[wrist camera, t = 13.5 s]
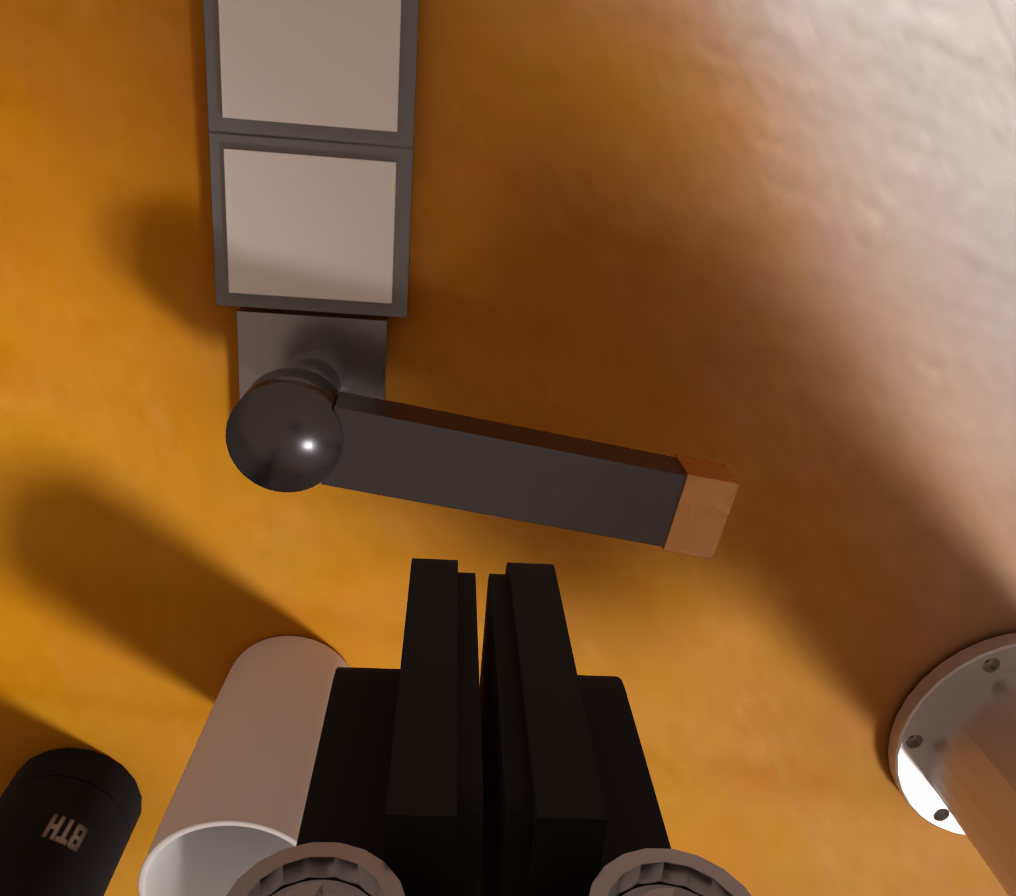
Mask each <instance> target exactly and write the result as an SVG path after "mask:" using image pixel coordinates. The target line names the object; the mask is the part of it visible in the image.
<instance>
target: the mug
mask: <svg viewBox="0 0 1016 896" xmlns="http://www.w3.org/2000/svg"><path fill="white" fill-rule="evenodd" d="M337 667H349V666H348V665H347V663H346V662H345V661H344V660H343V658H342V657H341V656H340V655H339V654H338V653H336V652H335V651H334V650H333V649H331V648H330V647H328V646H326V645H324V644H323V643H320V642H318V641H315V640H313V639H309V638H305V637H300V636H278V637H272V638H268V639H265V640H262V641H260V642H258V643H256V644H254V645H252V646H251V647H249V648H248V649H246V650H245V651H244V652H243V653H242V654H241V655H240V656H239V657H238V658H237V660H236V661H235V662H234V664H233V666H232V667H231V669H230V671H229V673H228V676H227V678H226V680H225V682H224V684H223V686H222V688H221V690H220V692H219V694H218V696H217V699H216V701H215V703H214V705H213V708H212V710H211V712H210V714H209V717H208V719H207V721H206V724H205V726H204V728H203V730H202V733H201V735H200V737H199V739H198V741H197V744H196V746H195V748H194V750H193V753H192V755H191V757H190V759H189V761H188V764H187V766H186V768H185V770H184V773H183V775H182V777H181V779H180V781H179V784H178V786H177V788H176V790H175V792H174V795H173V797H172V799H171V801H170V804H169V806H168V808H167V810H166V812H165V815H164V817H163V819H162V821H161V824H160V826H159V828H158V830H157V833H156V835H155V837H154V840H153V842H152V844H151V847H150V849H149V852H148V855H147V857H146V858H145V860H144V862H143V864H142V867H141V870H140V873H139V878H138V893H139V896H226V895H227V894H228V892H229V891H230V889H231V888H232V886H233V885H234V883H235V882H236V881H237V879H238V878H240V877H241V876H242V875H243V874H244V873H246V872H247V871H248V870H249V869H250V868H251V867H253V866H254V865H255V864H256V863H257V862H259V861H260V860H262V859H264V858H266V857H268V856H271V855H273V854H275V853H277V852H279V851H281V850H283V849H285V848H289V847H293V846H296V844H297V840H298V835H299V831H300V826H301V822H302V817H303V812H304V808H305V803H306V799H307V794H308V790H309V785H310V781H311V776H312V772H313V767H314V763H315V758H316V754H317V749H318V745H319V740H320V736H321V731H322V727H323V722H324V718H325V713H326V709H327V704H328V700H329V695H330V691H331V686H332V682H333V677H334V674H335V670H336V669H337Z"/></svg>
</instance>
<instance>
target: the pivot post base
mask: <svg viewBox="0 0 1016 896" xmlns="http://www.w3.org/2000/svg"><path fill="white" fill-rule="evenodd" d="M387 333H388V317H385V316H370V315H355V314H340V313H324V312H309V311H294V310H279V309H264V308H249V307H241V308H240V309H239V310H237V334H238V364H239V393H240V399H241V398H242V397H243V396H244V394H245V393H246V392H247V390H248V389H249V388H250V386H251V385H252V384H253V383H254V382H255V381H256V380H257V379H258V378H260V377H261V376H263V375H265V374H266V373H268V372H271V371H273V370H277V369H282V368H300V369H305V370H309V371H312V372H314V373H317V374H318V375H320V376H322V377H324V378H325V379H327V380H328V381H329V382H330V383H331V384H332V385H334V386H335V388H336V389H337V390H338V391H339V393H340V392H347V393H352V394H357V395H362V396H367V397H372V398H377V399H382V400H386V367H387Z"/></svg>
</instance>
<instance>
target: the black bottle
mask: <svg viewBox="0 0 1016 896" xmlns="http://www.w3.org/2000/svg"><path fill="white" fill-rule="evenodd" d="M141 798H142V797H141V794H140V792H139V789H138V787H137V784H136V782H135V780H134V779H133V778H132V777H131V776H130V774H129V773H128V772H127V771H126V770H125V768H123V767H122V766H120V765H119V764H117V763H116V762H114V761H113V760H111V759H110V758H108V757H106V756H103V755H100V754H97V753H95V752H92V751H89V750H80V749H71V748H65V749H59V750H52V751H47V752H45V753H42V754H40V755H38V756H36V757H34V758H31V759H30V760H29V761H28V762H27V763H26V764H25V765H24V766H23V767H22V768H21V769H19V770H18V772H17V773H16V775H15V776H14V778H13V779H12V781H11V782H10V784H9V785H8V787H7V788H6V790H5V791H4V793H3V794H2V796H1V797H0V896H104V893H105V891H106V889H107V887H108V885H109V882H110V880H111V878H112V876H113V874H114V871H115V869H116V867H117V865H118V862H119V860H120V858H121V856H122V854H123V851H124V849H125V847H126V845H127V843H128V840H129V838H130V836H131V834H132V832H133V829H134V827H135V825H136V823H137V820H138V818H139V816H140V814H141Z"/></svg>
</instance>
